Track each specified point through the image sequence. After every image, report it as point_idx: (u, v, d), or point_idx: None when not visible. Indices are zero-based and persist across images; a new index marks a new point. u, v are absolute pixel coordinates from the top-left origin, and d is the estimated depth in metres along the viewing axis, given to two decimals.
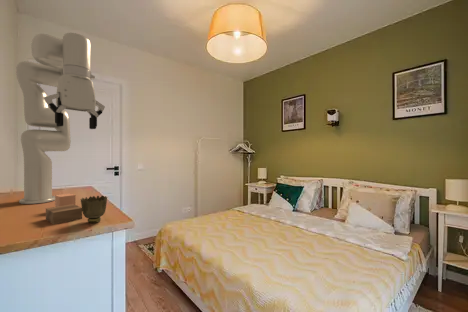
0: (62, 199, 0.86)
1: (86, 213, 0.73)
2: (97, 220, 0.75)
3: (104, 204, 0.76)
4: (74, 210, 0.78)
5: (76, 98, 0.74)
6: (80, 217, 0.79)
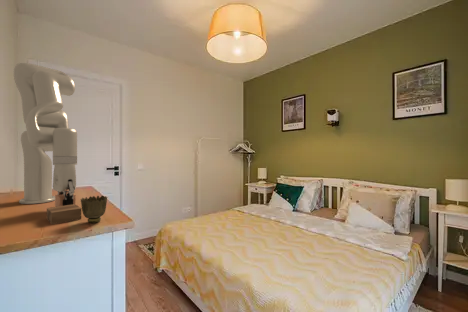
0: (62, 199, 0.86)
1: (86, 213, 0.73)
2: (97, 220, 0.75)
3: (104, 204, 0.76)
4: (73, 210, 0.77)
5: None
6: (79, 217, 0.79)
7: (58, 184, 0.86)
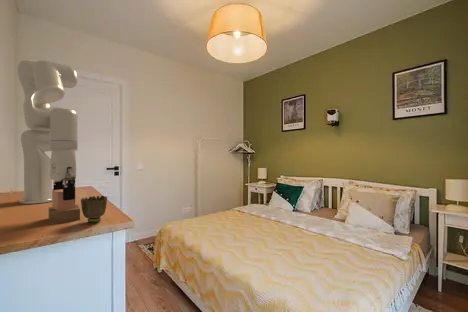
0: (60, 194, 0.76)
1: (86, 213, 0.73)
2: (97, 220, 0.75)
3: (104, 204, 0.76)
4: (71, 211, 0.77)
5: None
6: (78, 218, 0.78)
7: (56, 172, 0.75)
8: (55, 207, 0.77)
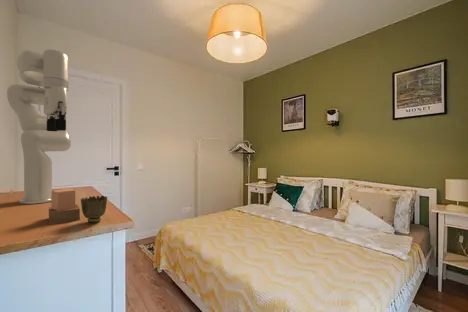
0: (60, 194, 0.76)
1: (86, 213, 0.73)
2: (97, 220, 0.75)
3: (104, 204, 0.76)
4: (71, 211, 0.77)
5: None
6: (77, 218, 0.78)
7: (48, 106, 0.85)
8: (55, 207, 0.76)
